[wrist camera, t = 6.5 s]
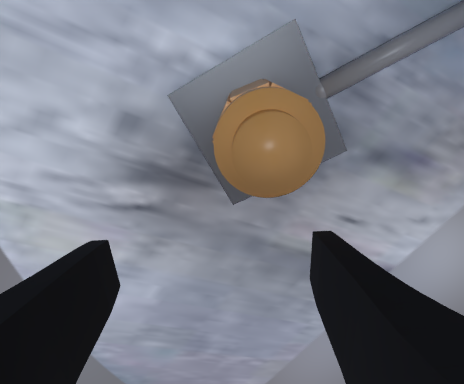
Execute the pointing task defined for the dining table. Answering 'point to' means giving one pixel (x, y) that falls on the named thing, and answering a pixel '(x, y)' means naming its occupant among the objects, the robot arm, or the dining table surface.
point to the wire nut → (268, 140)
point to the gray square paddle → (294, 80)
